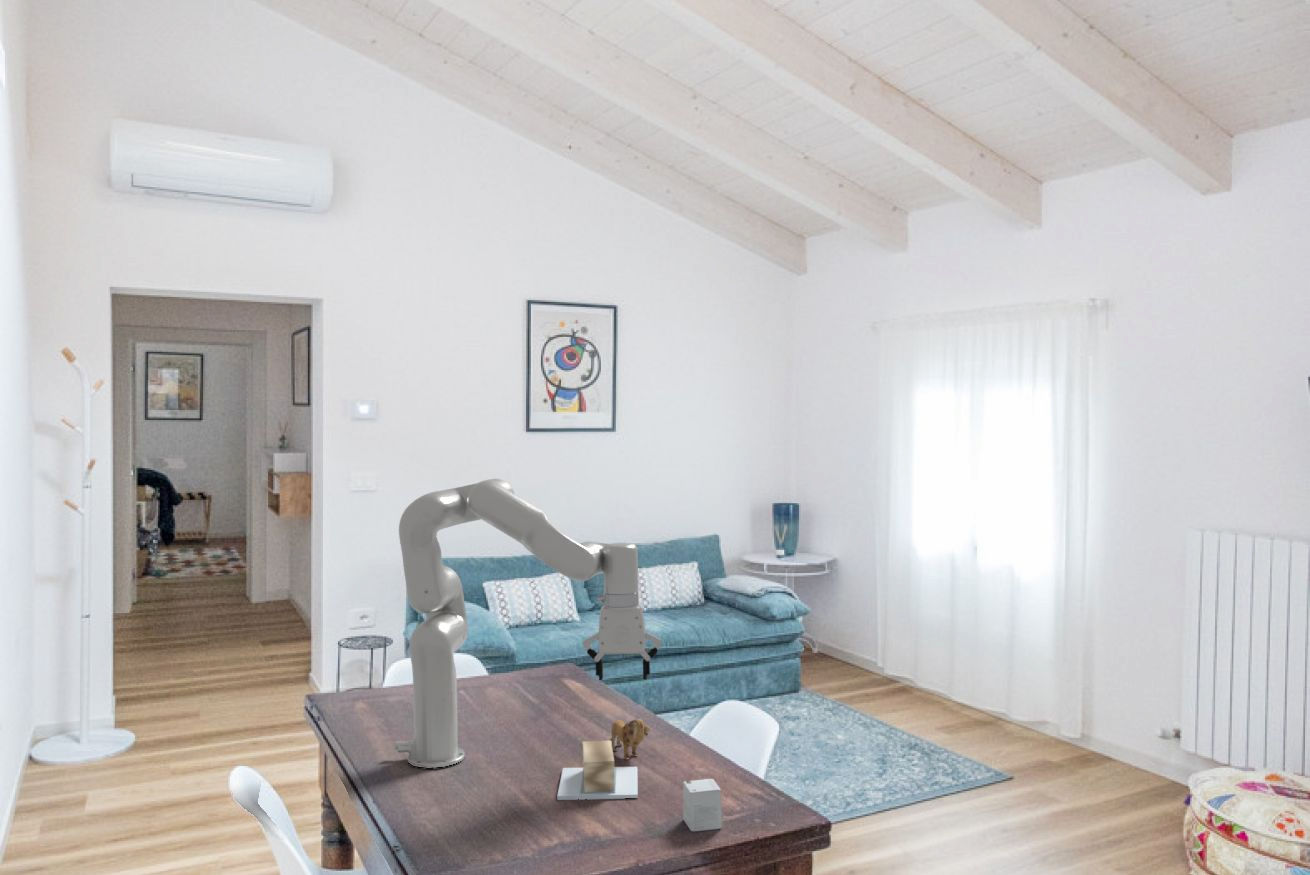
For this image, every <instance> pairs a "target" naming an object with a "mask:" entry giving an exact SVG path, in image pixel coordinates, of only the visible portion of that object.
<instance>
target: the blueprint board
mask: <svg viewBox="0 0 1310 875" xmlns="http://www.w3.org/2000/svg"><path fill="white" fill-rule="evenodd" d="M638 779H639V778H638V766H614V781H615V791H598V792H585V789H584V774H583V767H563V768H562V771H561V776H560V782H559V787H558V791H557V795H556V797H557V801H574V800H575V801H577V800H578V799H579V800H584V801H585V799H587V800H621V799H622V800H626V799H625V798H639V797H638V796H639V794H638V793H639V792H638V791H639V790H638V788H639V787H638V785H639V784H638V783H639V782H638Z"/></svg>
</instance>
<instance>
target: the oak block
mask: <svg viewBox="0 0 1310 875" xmlns="http://www.w3.org/2000/svg"><path fill="white" fill-rule="evenodd" d="M614 756H615V755H614V752H613V750H612V742H611V740H610V739H608V740H590V741H589V740H587V741H585V740H584V741H582V768H583V774H584V789H585V792H598V791H615V781H614V767H615V757H614Z"/></svg>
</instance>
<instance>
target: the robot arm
mask: <svg viewBox="0 0 1310 875" xmlns="http://www.w3.org/2000/svg"><path fill="white" fill-rule="evenodd" d="M400 517H401V518H400V520H399V523H398V524H399V525H398V537H399V544H400V549H401V555H402V556H401V557H402V565H403V572H404V577H405V578H404V581H405V586H406V594H407V599H408V603H409V605H410V606H411V608H412V609H413V610H414V611H416V612H418V613H420V614H425V615H426V619H425V620H423V621H422V622H420V623H419V624H418V625H417V626H416V627H415V629H413V631H412V633H411V636H410V639H409V644H408V645H409V648H408V649H409V656H410V663H411V668H412V692H413V693H412V694H413V695H412V696H413V699H412V700H413V739H410V740H409V741H405V740H401V741H400V740H399V741H398V740H396V741H395V743H394V750H395V751H397V753H399V754H400V753H401V754H402V753H408V755H407V757H406V761H407V760H408V762H409V763H411V764H413V765H417V766H421V767H443V768H446V767H445V766H448V767H450V766H449V765H452V766H454V765H453V764H455V765H457V764H459V763H460V761H461V762H462V761H463V760H465V758H464V757H466V752H465V750H464V749H462V748H460V747H459V745H458V743H459V742H458V683H457V670H456V664H455V658H454V654H455V652H456V651H458V650H459V649H461V647H462V646H463V645H464V644H465V642H466V641H467V637H468V633H469V624H468V616H467V611H466V609H467V608H466V603H465V596H464V590H463V584H462V582H461V581H462V580H461V579H460V576H459V575H458V574H457V572H456V571H455V570H453V569H452V568H451V567H449V566H446V565H444V561H443V558H442V550H441V546H440V543H439V540H438V537H437V534H438V532H439V531H440V530H444V529H447V528H450V527H454V526H457V525H461V524H466V523H471V522H475V521H480V520H482V521H484V522H485V523H487V524H488V525H490V526H492V527H494V528H495V529H497V530H499V531H501V532H502V533H503V534H505V535H507V536H509V537H510V538H512V539H514V540H515V541H516V542H518V543H520V544H521V545H522V546H523V547H524V548H525V549H526V550H527V551H528V552H530V553H531V554H532V555H533V556H535V557H536V558H537V559H538V560H539V561H541V562H542V563H543V564H545V565H547V566H548V567H549V568H551V569H553V571H556V572H558V573H559V574H561V575H563V576H565V577H566V578H568V579H570V580H572V581H575V582H585V581H586V582H587V581H589V580H590V579H592V578H593V577H594V576H597V575H599V574H601V575H602V574H603V593H602V594H598V595H597V602H600V603H603V605H602V606H601V607H600V611H599V619H598V632H597V633H595V634H593V635H591V636H588V637H587V638H585V639H583V641H582V645H583V647H584V649H585V651H586V653H587V654H588V656H590V658H592V660H594V662H595V676H598V681H602V680H603V678H604V660H603V659H602V658H603V657H604V656H605V655H638V654H640V655H641V657H642V658H643V660H642V676H643V677H642V679H643V680H647V676H650V675H651V670H650V669H651V668H650V667H651V666H650V665H651V663H650V661H651V660H652V659H653V657H654V656H656V654H657V653H658V651H659V650H660V647H661V645H662V642H663V640H662V638H660V637H659V636H656V635H655V634H653V633H650V632H648V631H646V624H645V615H644V609H643V606H642V605H641V604H640V603H639V602H640V601H639V599H640V598H639V561H638V560H639V559H638V558H639V556H638V555H639V554H638V547H637V546H636V545H635V544H634V543H630V542H614V543H605V542H604V543H603V542H597V541H583V542H581V543H578V542H576V541H575V540H574V539H571V538H569V537H568V536H567V535H564V534H563V533H562V532H560V531H559V530H557V529H556V528H555V527H554V526H553V525H552V523H551V522H550V521H549V519H548V516H547V515H546V513H545V512H544V511H543V510H542V509H541V508H538V507H537V506H535V505H533V504H532V503H530V502H528V501H527V500H525V499H524V498H522V497H520V496H518V495H517V494H515V491H514V489H513V487H512V486H511V485H510V484H509V483H508V482H507V481H505V480H503V479H500V478H491V479H487V480H486V479H485V480H482V481H479V482H476V483H473V484H468V485H463V486H457V487H454V488H447V489H443V490H435V491H432V492H429V493H426V494H423V495H421V496H420V497H418V498H417V499H414V500H413V501H412V502H411V503H410V504H409V505H408V506H407V507H406V508H405V509H404V511H403V512H402V515H401V516H400ZM647 640H648V641H650V642H652V643H653V646H652V648H651V649H650V650H648V649H647V648H646V645H647V644H646V641H647ZM596 641H598V651H596V650H595V649H594V648H593V647H592V643H594V642H596ZM408 762H407V763H408ZM458 762H459V763H458ZM456 763H457V764H456Z"/></svg>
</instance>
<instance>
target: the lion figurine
mask: <svg viewBox="0 0 1310 875" xmlns="http://www.w3.org/2000/svg"><path fill="white" fill-rule="evenodd" d="M650 732H651V728H650V727H649V726H647V725H646V724H645V723H644V720H643V719H642V718H636V719H633V720H630V721H629V722H627V723H625V722H624V721H623V720H620V719H616V720H615V721H613V723H612V725H611V732H610V733H611V738H610V739H609V740H611V744H612V750H613V751H615V752H617V749H616V747H615V745H616V746H617V747H622V746H623V756H624V757H623V759H624V760H625V759H627V758H629V759H630V754H629V747H632V748H631V755H633V756H635V755H638V756H639V754H638V753H637V752H636V750H637V748H638V746H639V745H640V743H641V742H643V740H645V737H649V734H650ZM633 756H632V757H633Z"/></svg>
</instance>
